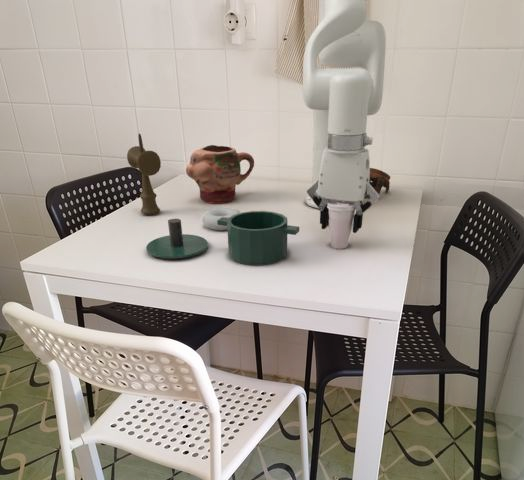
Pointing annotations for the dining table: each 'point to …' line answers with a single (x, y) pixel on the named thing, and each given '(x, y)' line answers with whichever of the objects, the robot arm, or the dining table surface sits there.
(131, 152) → the kendama
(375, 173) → the brown piece
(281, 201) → the dining table surface
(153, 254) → the lid
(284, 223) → the pot
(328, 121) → the robot arm
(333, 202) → the smoothie
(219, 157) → the sculpted ceramic jug
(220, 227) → the donut
